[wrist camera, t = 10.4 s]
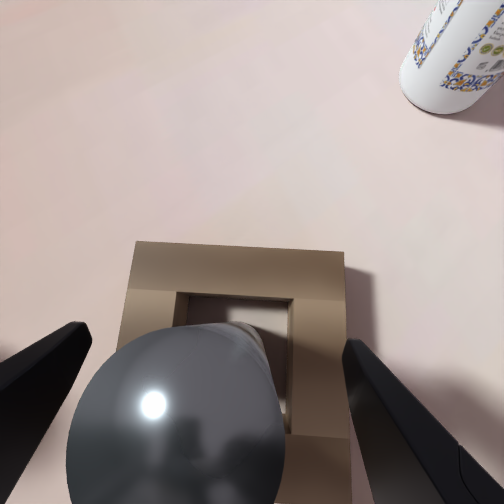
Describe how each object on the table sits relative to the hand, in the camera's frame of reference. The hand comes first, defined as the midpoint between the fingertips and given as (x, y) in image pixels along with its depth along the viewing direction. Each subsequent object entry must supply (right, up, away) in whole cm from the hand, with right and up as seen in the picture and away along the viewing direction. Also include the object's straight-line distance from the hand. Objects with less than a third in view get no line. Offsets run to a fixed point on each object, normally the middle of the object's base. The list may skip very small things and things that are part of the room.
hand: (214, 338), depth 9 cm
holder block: (0, -4, +8) cm, 9 cm away
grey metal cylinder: (0, -4, +8) cm, 9 cm away
